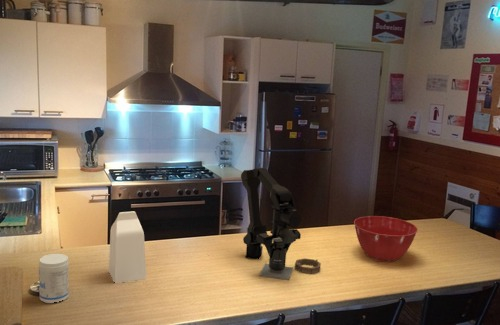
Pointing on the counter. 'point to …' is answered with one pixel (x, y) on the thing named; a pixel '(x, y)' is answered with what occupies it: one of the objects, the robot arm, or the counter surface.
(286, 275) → the rubber mat
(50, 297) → the supplement tub
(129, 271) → the milk
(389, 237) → the mixing bowl
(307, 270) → the walnut collar
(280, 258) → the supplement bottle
